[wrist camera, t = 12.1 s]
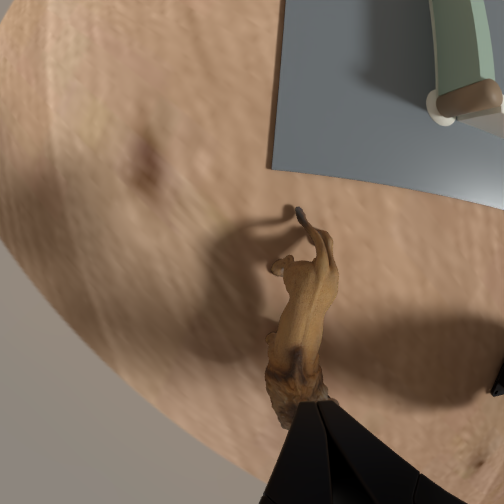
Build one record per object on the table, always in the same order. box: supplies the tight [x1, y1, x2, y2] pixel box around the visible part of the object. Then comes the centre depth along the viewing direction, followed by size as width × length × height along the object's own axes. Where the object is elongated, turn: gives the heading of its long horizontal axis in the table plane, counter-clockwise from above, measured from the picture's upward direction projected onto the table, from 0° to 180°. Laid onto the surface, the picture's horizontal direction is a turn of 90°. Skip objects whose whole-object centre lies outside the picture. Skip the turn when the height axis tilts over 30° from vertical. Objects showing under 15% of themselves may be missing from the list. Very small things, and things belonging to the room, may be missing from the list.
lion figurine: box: [265, 207, 339, 430], centre depth 17 cm, size 12×4×7 cm, turn 2°
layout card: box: [272, 0, 504, 210], centre depth 16 cm, size 22×20×1 cm
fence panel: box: [432, 0, 503, 118], centre depth 13 cm, size 12×2×5 cm, turn 174°
